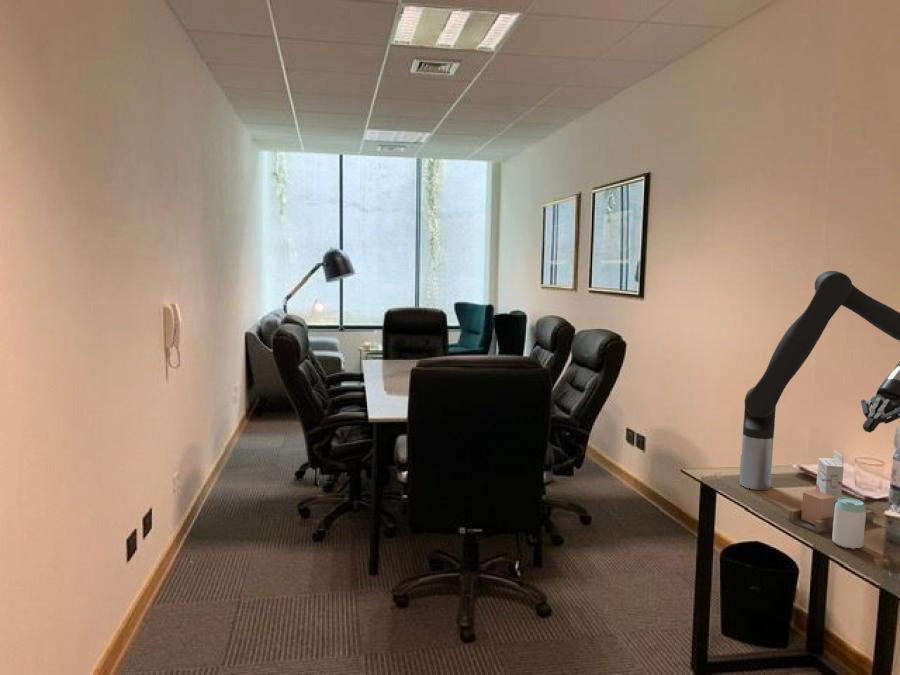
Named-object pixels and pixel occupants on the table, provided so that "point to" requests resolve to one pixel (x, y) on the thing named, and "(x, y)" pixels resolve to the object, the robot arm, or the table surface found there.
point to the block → (817, 506)
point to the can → (849, 523)
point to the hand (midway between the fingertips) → (866, 430)
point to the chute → (820, 521)
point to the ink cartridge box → (830, 476)
